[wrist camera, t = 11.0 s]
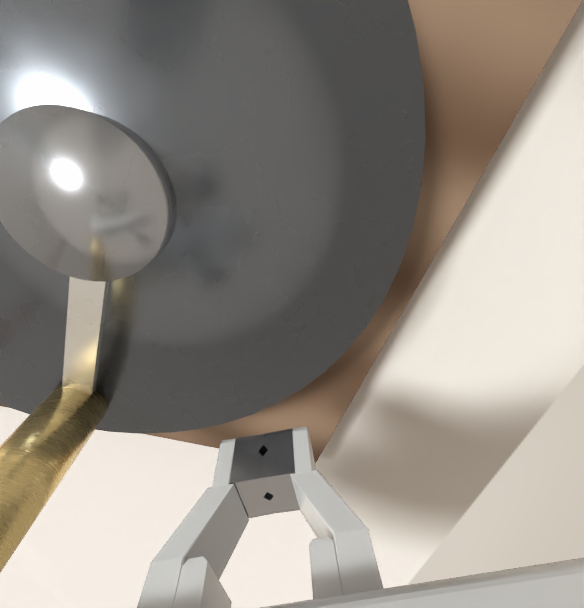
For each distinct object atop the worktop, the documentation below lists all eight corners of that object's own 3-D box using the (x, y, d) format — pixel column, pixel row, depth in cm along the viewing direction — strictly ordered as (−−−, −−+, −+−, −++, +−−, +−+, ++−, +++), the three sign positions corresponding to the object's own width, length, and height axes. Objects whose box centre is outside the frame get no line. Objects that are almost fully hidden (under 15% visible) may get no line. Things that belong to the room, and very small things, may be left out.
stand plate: (-499, -807, 6) (-794, -1177, 4) (583, -48, 11) (634, -83, 9) (-155, 350, 16) (-200, 370, 14) (310, 447, 21) (313, 469, 20)
